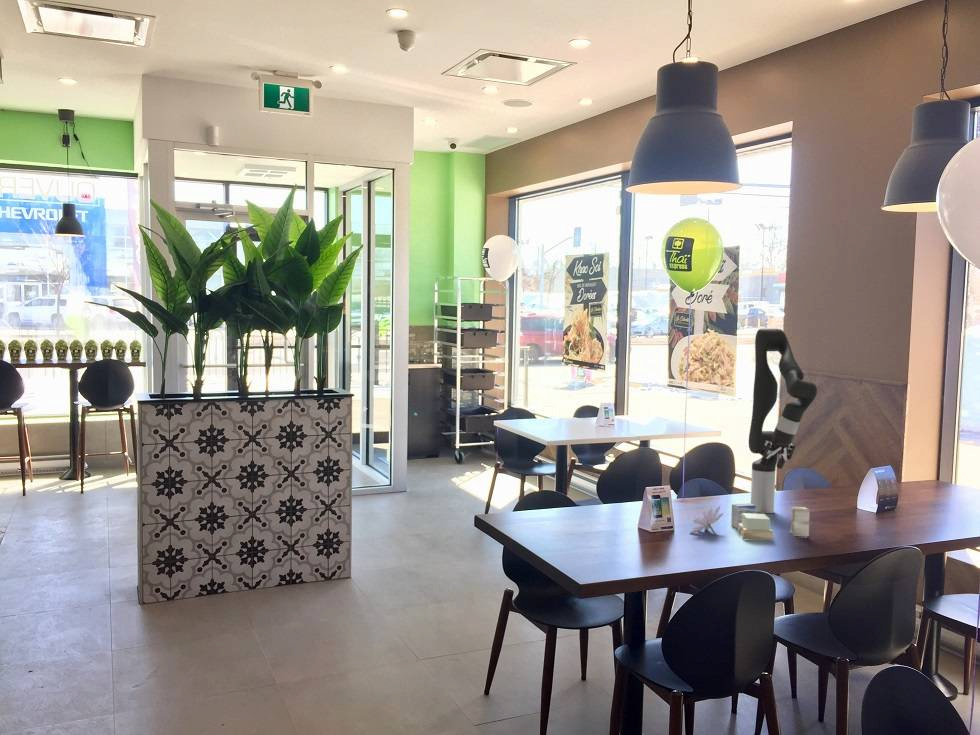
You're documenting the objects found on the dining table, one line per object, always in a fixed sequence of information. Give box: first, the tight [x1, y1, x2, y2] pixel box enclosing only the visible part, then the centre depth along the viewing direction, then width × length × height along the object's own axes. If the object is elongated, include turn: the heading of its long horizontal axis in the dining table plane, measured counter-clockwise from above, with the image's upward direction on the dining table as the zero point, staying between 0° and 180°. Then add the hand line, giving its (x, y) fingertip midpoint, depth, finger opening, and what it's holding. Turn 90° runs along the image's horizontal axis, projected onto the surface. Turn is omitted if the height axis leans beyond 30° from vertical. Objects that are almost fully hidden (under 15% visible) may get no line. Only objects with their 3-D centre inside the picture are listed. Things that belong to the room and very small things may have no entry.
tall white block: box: [790, 506, 811, 537], centre depth 305 cm, size 5×5×10 cm
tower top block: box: [742, 513, 771, 530], centre depth 303 cm, size 8×8×4 cm
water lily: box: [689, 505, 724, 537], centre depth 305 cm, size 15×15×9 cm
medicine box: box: [730, 502, 757, 529], centre depth 317 cm, size 8×4×9 cm, turn 105°
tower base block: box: [737, 523, 774, 541], centre depth 303 cm, size 10×10×4 cm
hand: (770, 467), depth 322 cm, fingers open, 8 cm apart
